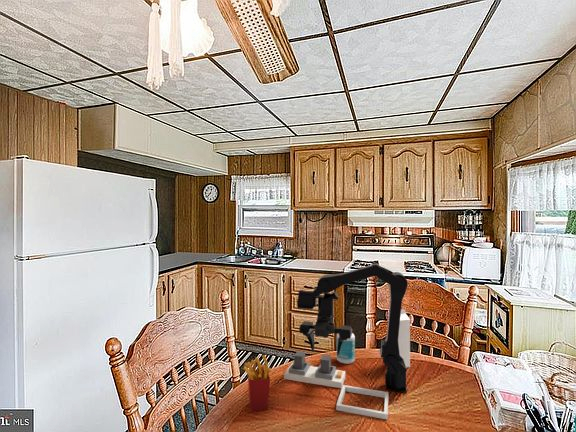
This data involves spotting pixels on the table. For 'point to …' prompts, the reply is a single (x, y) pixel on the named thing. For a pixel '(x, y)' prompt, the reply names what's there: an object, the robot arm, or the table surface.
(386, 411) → the white square frame
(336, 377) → the power strip
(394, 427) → the table surface
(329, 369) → the plug
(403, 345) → the milk
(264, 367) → the french fries
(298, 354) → the plug
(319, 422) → the table surface
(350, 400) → the table surface
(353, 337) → the pill bottle
